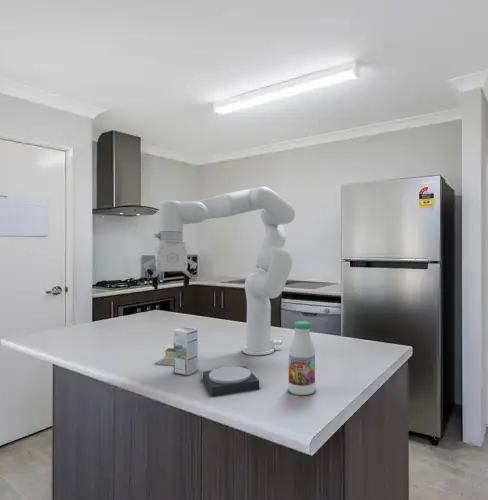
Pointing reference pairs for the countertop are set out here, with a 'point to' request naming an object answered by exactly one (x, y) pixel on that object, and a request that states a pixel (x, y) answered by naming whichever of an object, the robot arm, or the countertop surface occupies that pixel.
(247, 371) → the scale
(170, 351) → the stacked layers on plate
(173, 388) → the countertop surface
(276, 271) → the robot arm
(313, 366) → the milk bottle
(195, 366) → the syrup box
